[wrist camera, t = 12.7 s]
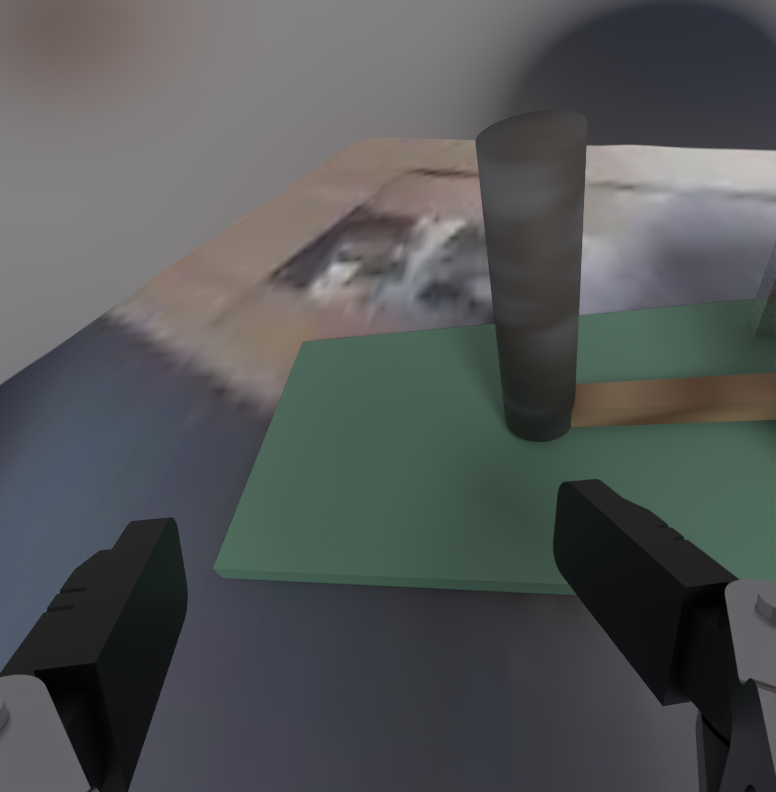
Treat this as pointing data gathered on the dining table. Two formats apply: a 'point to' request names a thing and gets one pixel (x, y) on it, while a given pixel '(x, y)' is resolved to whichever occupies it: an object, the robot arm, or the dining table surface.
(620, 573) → the robot arm
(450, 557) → the board
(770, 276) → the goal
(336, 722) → the dining table surface
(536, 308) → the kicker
